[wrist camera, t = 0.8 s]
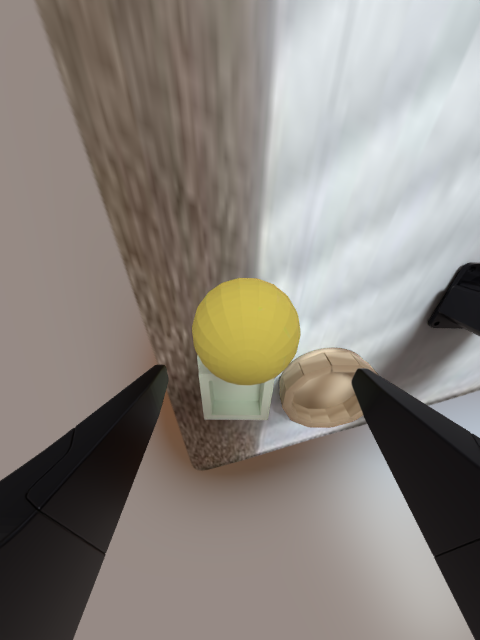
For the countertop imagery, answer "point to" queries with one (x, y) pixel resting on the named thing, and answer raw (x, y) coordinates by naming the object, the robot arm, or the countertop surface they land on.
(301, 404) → the round cradle
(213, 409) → the square socket
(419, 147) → the countertop surface
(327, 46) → the countertop surface
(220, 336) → the light bulb
